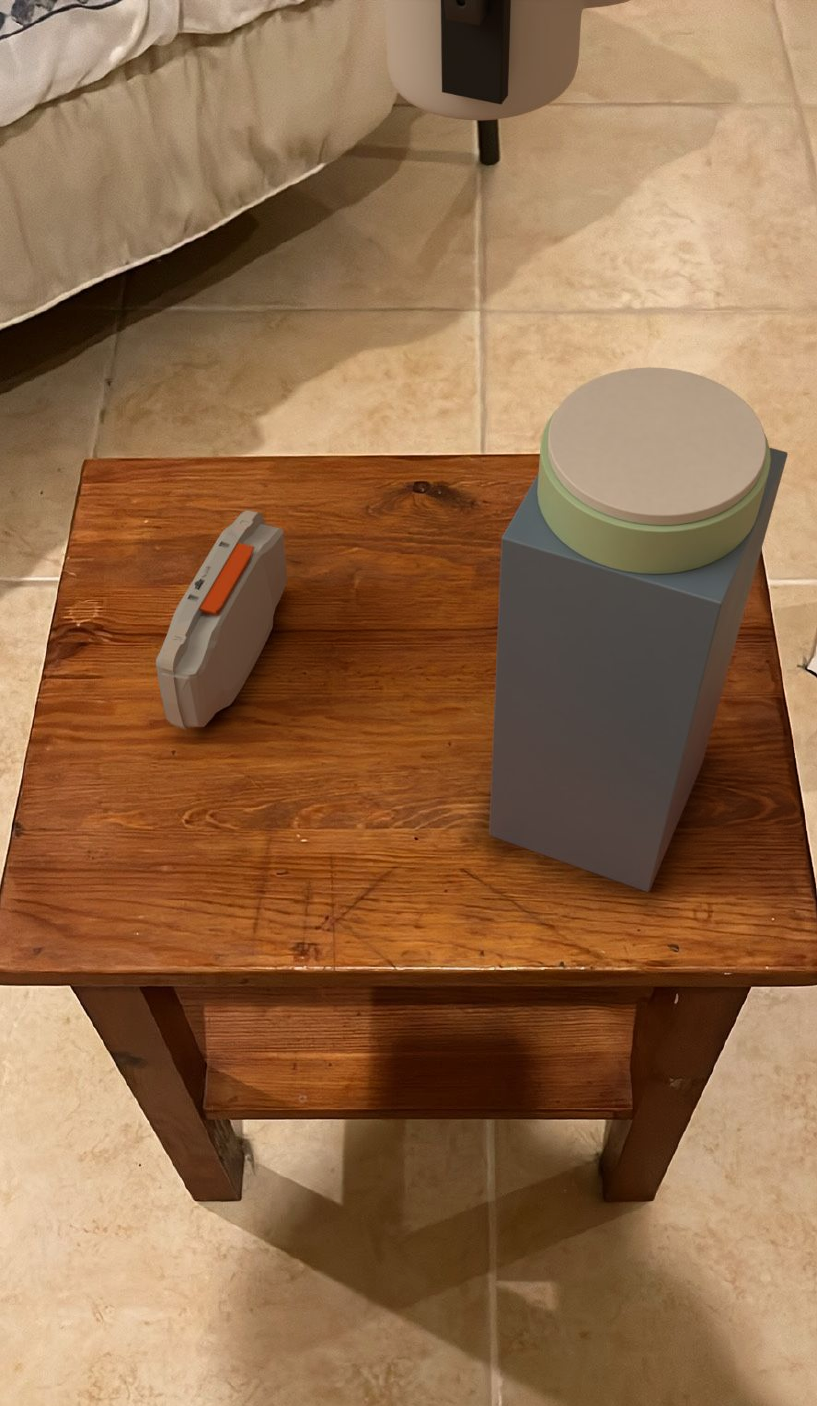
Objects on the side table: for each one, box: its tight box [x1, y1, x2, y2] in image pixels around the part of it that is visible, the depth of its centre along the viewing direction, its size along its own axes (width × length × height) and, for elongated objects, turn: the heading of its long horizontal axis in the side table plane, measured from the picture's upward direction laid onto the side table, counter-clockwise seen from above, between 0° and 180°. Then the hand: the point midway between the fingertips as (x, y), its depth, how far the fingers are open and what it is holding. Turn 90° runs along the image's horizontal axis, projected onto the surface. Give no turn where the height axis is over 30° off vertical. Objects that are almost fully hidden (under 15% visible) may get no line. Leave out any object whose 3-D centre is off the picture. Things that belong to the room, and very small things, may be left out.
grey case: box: [155, 509, 288, 731], centre depth 82 cm, size 14×3×8 cm, turn 160°
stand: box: [488, 447, 788, 893], centre depth 68 cm, size 10×10×24 cm
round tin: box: [537, 367, 771, 574], centre depth 57 cm, size 10×10×3 cm
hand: (515, 39), depth 57 cm, fingers closed on mug, 8 cm apart
